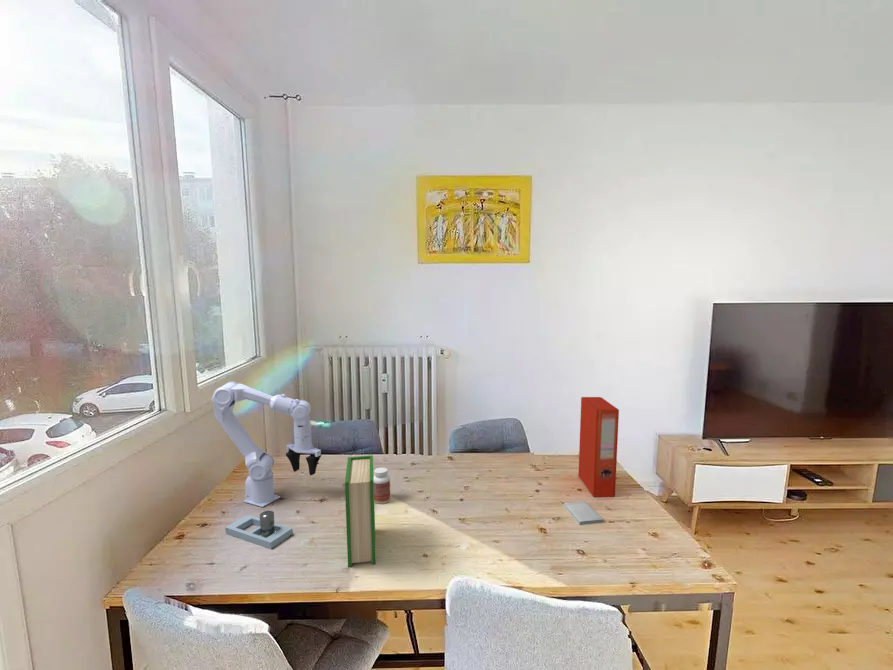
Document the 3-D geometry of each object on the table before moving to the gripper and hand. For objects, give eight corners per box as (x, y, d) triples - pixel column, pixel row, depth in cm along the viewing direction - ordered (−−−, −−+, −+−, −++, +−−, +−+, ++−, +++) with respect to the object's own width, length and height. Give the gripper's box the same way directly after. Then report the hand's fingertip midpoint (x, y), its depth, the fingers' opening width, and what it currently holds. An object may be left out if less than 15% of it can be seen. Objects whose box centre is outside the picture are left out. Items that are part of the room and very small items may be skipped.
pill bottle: (393, 501, 156) (392, 471, 155) (377, 506, 153) (376, 475, 151) (385, 494, 161) (385, 465, 160) (370, 498, 158) (369, 469, 156)
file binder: (598, 476, 175) (601, 396, 171) (615, 497, 157) (618, 409, 154) (578, 476, 174) (580, 397, 171) (593, 497, 157) (595, 409, 154)
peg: (257, 537, 134) (256, 515, 133) (269, 530, 137) (268, 509, 136) (266, 541, 132) (265, 518, 131) (277, 534, 135) (276, 512, 134)
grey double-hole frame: (225, 533, 136) (225, 527, 136) (248, 520, 144) (248, 514, 144) (270, 549, 128) (270, 542, 128) (292, 534, 136) (292, 528, 135)
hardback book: (375, 564, 121) (373, 480, 118) (347, 567, 120) (344, 482, 117) (375, 529, 138) (372, 455, 135) (350, 531, 137) (348, 457, 134)
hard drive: (603, 519, 141) (585, 500, 153) (579, 521, 139) (563, 502, 152) (603, 524, 141) (585, 505, 153) (579, 526, 140) (562, 507, 152)
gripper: (326, 434, 157) (327, 471, 159) (295, 429, 163) (297, 464, 165) (312, 441, 151) (313, 479, 152) (280, 435, 157) (282, 472, 159)
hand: (304, 472), depth 158 cm, fingers open, 7 cm apart
